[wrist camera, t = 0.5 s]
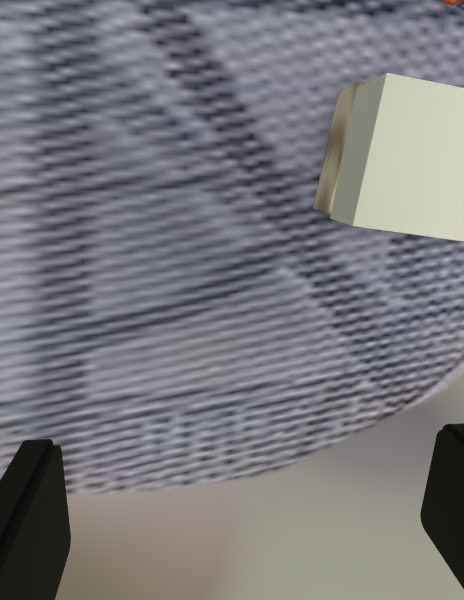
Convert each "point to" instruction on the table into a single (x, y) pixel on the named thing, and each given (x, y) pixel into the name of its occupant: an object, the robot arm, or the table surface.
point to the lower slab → (335, 149)
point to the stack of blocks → (455, 3)
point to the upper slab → (404, 159)
